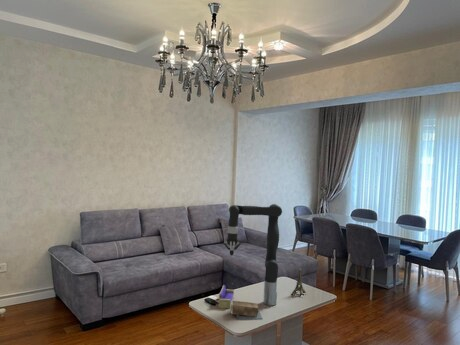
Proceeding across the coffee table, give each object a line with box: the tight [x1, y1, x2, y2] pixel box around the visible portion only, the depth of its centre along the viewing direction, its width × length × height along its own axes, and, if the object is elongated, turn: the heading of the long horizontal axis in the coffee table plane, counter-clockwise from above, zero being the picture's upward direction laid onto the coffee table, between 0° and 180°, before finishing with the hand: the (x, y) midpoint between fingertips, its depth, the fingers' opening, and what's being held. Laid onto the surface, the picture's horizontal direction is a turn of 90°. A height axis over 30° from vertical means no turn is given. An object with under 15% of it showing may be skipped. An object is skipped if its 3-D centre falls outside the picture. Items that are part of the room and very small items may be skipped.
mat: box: [235, 309, 263, 320], centre depth 240 cm, size 17×14×2 cm
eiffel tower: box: [291, 268, 307, 296], centre depth 284 cm, size 11×11×25 cm
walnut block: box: [230, 300, 259, 317], centre depth 240 cm, size 6×8×18 cm
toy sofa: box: [218, 284, 235, 310], centre depth 259 cm, size 21×9×10 cm, turn 172°
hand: (231, 255), depth 258 cm, fingers closed
